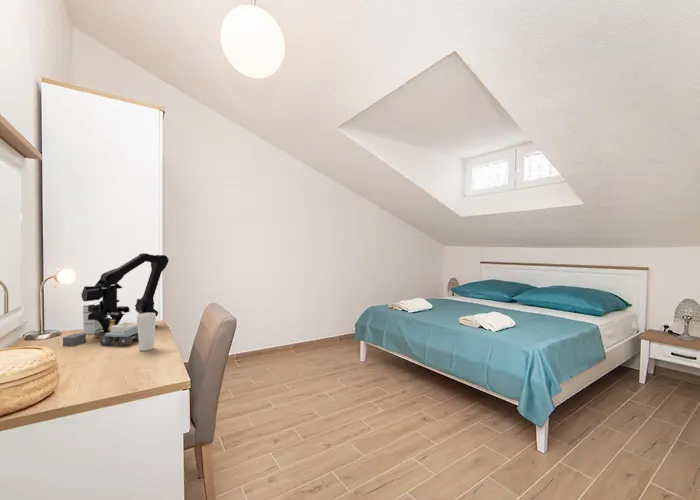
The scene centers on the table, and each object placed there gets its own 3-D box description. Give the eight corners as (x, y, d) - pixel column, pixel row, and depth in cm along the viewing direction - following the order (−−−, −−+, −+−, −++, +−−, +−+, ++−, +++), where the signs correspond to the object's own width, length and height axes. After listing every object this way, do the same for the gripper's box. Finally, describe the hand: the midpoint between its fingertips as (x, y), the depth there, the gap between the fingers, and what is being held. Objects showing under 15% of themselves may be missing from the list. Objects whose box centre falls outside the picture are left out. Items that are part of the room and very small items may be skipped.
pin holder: (108, 333, 161) (108, 329, 160) (124, 333, 160) (124, 329, 160) (95, 337, 153) (95, 333, 152) (111, 338, 152) (111, 334, 152)
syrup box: (94, 333, 159) (94, 304, 159) (82, 333, 159) (82, 304, 159) (103, 330, 165) (103, 302, 165) (92, 330, 165) (92, 302, 165)
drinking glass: (133, 350, 136) (133, 314, 136) (149, 345, 142) (149, 311, 141) (142, 352, 133) (142, 316, 132) (159, 348, 139) (159, 313, 138)
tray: (124, 328, 151) (124, 322, 151) (140, 328, 150) (140, 322, 150) (110, 332, 143) (110, 326, 143) (127, 333, 142) (127, 327, 142)
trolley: (116, 338, 151) (116, 323, 151) (144, 339, 150) (144, 324, 150) (98, 345, 141) (98, 329, 141) (127, 346, 140) (127, 330, 140)
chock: (74, 341, 147) (74, 333, 147) (85, 342, 147) (85, 333, 147) (62, 346, 141) (62, 337, 141) (74, 346, 141) (74, 337, 141)
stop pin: (109, 334, 159) (109, 318, 159) (118, 334, 158) (118, 318, 158) (101, 337, 154) (101, 320, 154) (110, 337, 154) (110, 321, 154)
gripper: (109, 295, 166) (109, 325, 166) (76, 301, 147) (76, 335, 147) (130, 295, 165) (130, 325, 165) (99, 302, 146) (99, 336, 147)
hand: (109, 330), depth 156 cm, fingers open, 5 cm apart
